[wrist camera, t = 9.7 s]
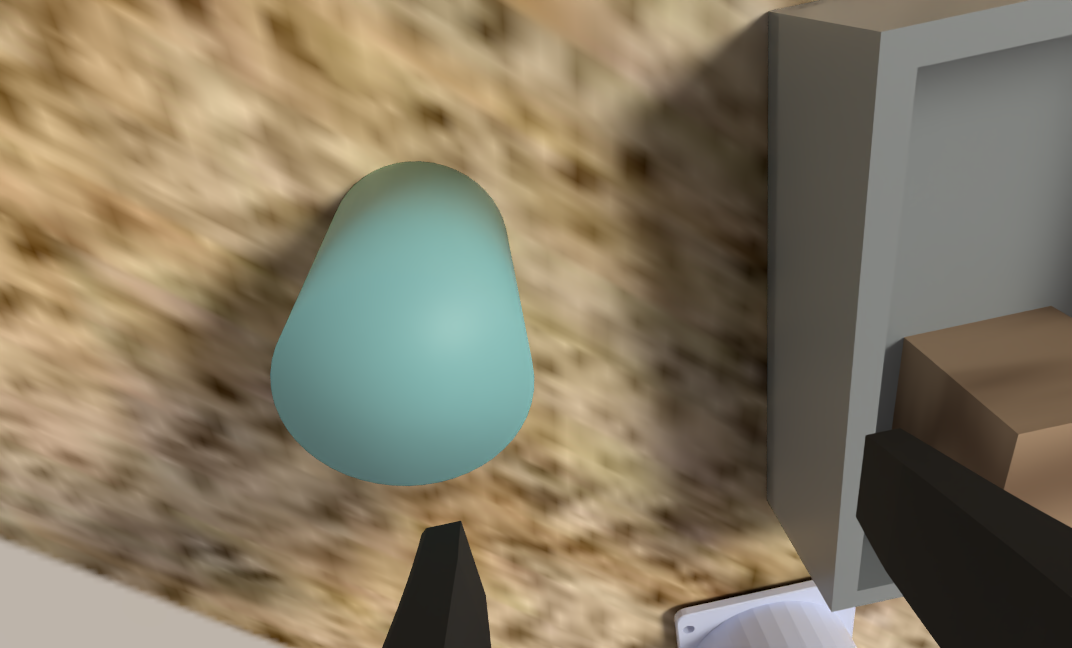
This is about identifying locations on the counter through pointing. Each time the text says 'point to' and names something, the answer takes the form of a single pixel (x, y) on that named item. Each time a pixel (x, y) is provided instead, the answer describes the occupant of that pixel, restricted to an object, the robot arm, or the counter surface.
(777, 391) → the tote
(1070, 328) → the walnut cube
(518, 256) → the counter surface
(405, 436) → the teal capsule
